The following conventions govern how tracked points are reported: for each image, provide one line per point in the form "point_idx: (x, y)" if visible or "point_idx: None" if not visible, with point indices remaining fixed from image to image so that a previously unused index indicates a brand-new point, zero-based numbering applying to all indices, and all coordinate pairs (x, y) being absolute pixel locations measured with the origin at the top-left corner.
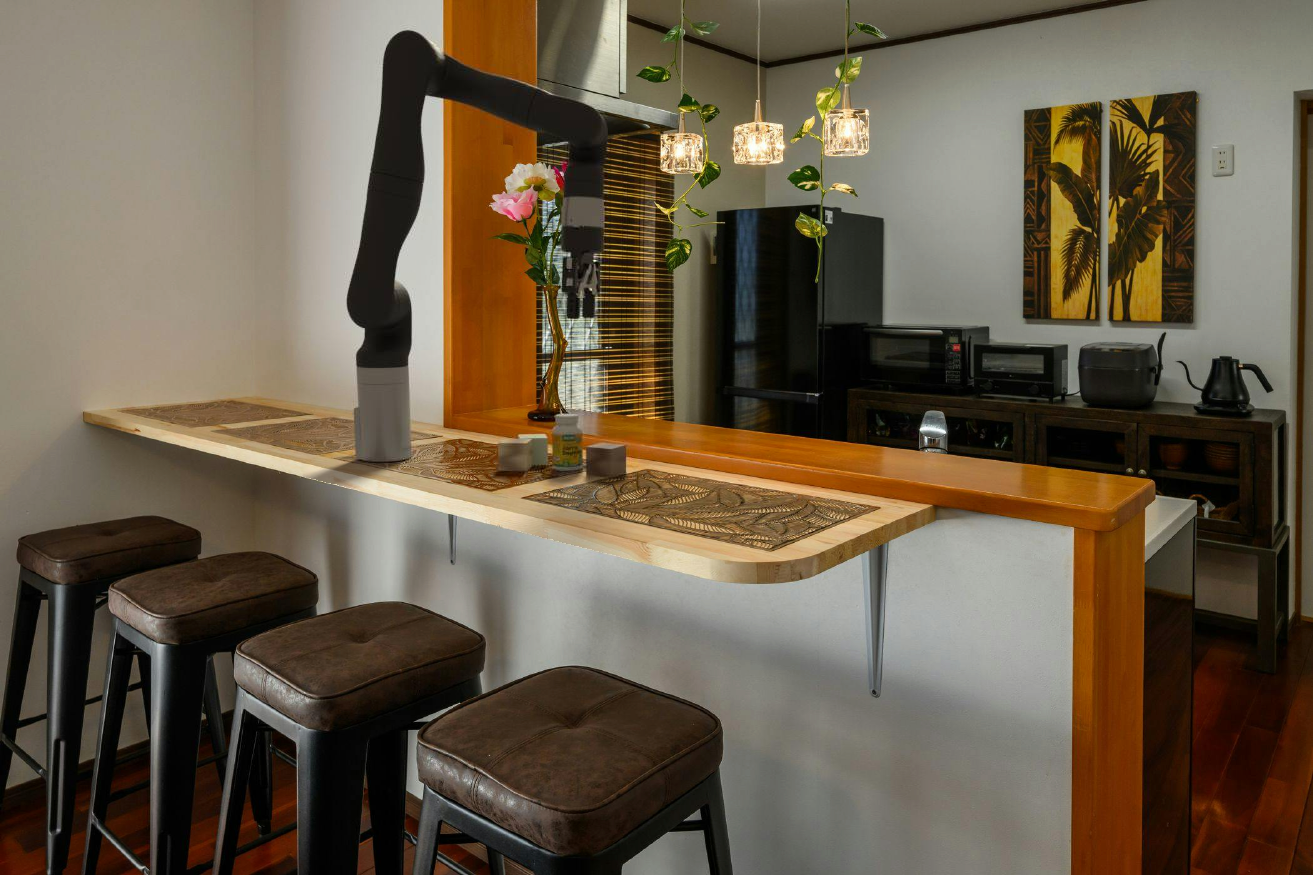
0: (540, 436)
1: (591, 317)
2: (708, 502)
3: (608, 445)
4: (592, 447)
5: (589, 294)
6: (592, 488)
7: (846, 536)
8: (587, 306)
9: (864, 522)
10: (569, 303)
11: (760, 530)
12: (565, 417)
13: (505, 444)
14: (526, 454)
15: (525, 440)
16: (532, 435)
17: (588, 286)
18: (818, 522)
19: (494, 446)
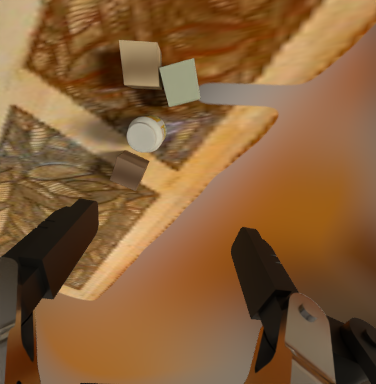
0: (179, 95)
1: (233, 247)
2: None
3: (129, 176)
4: (115, 163)
5: (270, 323)
6: (73, 160)
7: None
8: (248, 267)
9: None
10: (28, 243)
11: (5, 248)
12: (127, 138)
13: (121, 53)
14: (128, 86)
15: (145, 79)
16: (186, 82)
17: (257, 380)
18: None
19: (303, 2)
